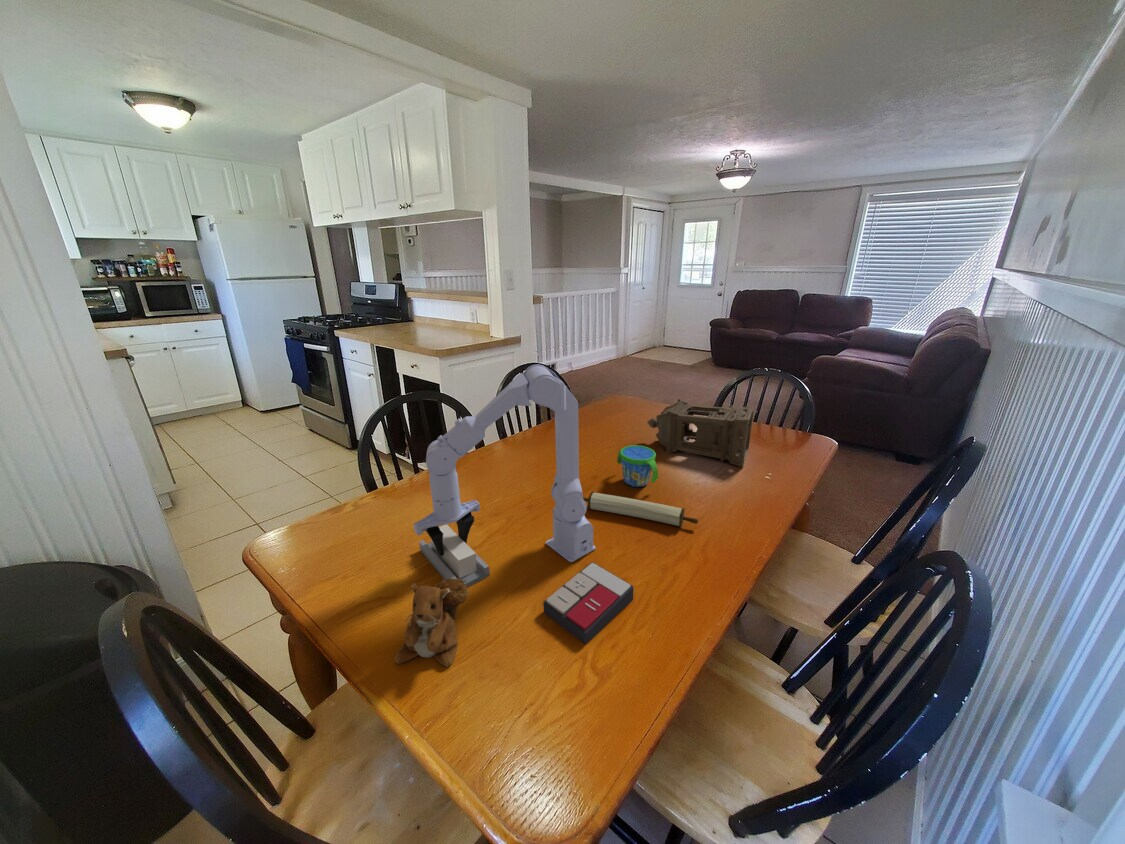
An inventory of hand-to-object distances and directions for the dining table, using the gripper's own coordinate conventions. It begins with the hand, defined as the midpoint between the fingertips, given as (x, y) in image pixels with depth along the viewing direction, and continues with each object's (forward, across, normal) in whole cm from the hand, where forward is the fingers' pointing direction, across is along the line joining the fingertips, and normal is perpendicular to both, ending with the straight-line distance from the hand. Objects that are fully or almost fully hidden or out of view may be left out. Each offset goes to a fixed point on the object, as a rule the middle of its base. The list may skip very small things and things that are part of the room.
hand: (451, 548), depth 96 cm
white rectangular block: (+3, 0, 0) cm, 3 cm away
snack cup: (+4, -60, +2) cm, 60 cm away
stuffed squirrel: (+4, +12, +17) cm, 21 cm away
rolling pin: (+4, -46, +14) cm, 48 cm away
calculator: (+5, -15, +29) cm, 33 cm away
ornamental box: (+4, -94, -1) cm, 95 cm away
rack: (+4, 0, 0) cm, 4 cm away
